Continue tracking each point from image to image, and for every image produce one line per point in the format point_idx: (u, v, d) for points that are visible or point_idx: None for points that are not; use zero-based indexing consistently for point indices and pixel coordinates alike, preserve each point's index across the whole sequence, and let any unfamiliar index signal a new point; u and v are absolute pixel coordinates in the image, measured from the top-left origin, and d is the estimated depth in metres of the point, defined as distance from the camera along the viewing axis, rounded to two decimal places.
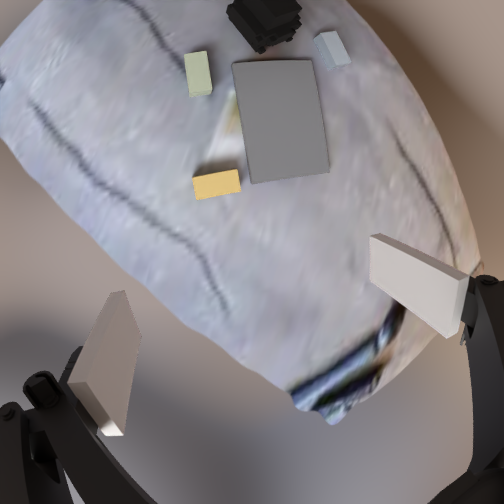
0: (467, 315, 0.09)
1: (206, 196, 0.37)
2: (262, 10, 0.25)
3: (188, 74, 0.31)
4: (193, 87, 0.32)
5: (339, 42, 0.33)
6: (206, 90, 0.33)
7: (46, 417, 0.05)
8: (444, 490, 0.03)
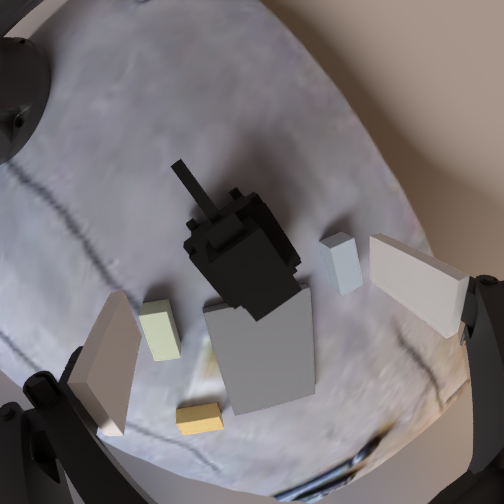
0: (467, 315, 0.09)
1: (192, 433, 0.33)
2: None
3: (149, 341, 0.28)
4: (158, 356, 0.28)
5: (354, 257, 0.29)
6: None
7: (46, 417, 0.05)
8: (444, 490, 0.03)
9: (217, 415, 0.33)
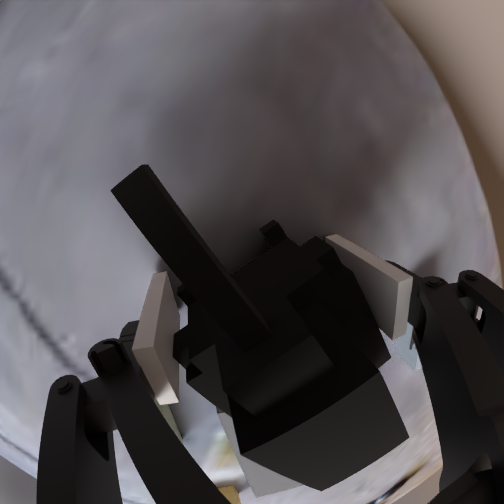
0: (414, 319, 0.10)
1: None
2: None
3: None
4: None
5: None
6: None
7: (108, 383, 0.07)
8: (444, 490, 0.03)
9: (235, 503, 0.20)
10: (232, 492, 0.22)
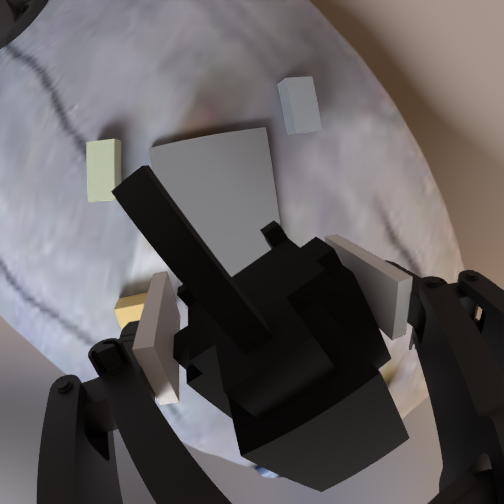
0: (414, 320, 0.10)
1: None
2: None
3: (88, 174, 0.24)
4: (93, 195, 0.24)
5: (312, 95, 0.26)
6: (109, 199, 0.25)
7: (109, 383, 0.07)
8: (444, 490, 0.03)
9: None
10: None
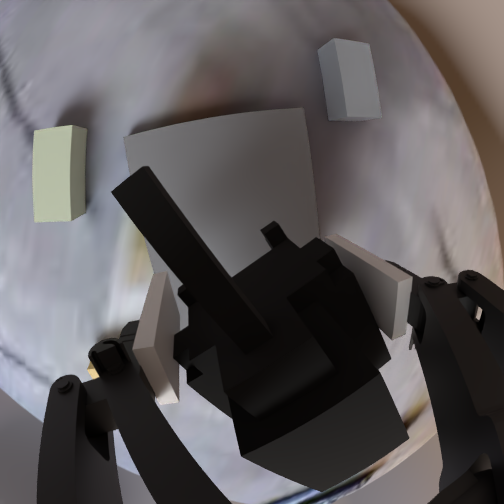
0: (414, 320, 0.10)
1: None
2: None
3: (34, 180, 0.14)
4: (40, 212, 0.14)
5: (369, 68, 0.16)
6: None
7: (109, 383, 0.07)
8: (444, 490, 0.03)
9: None
10: None
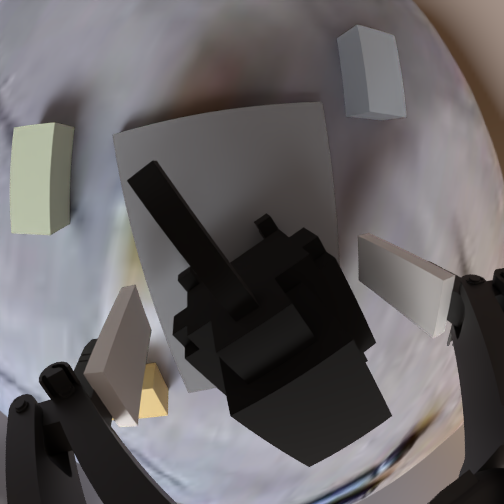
0: (453, 316, 0.09)
1: None
2: None
3: (12, 185, 0.11)
4: (17, 222, 0.12)
5: (394, 61, 0.13)
6: None
7: (61, 408, 0.06)
8: (444, 490, 0.03)
9: (150, 386, 0.17)
10: (151, 371, 0.18)
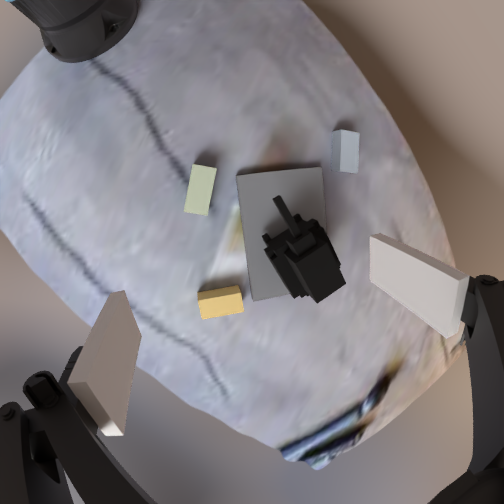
0: (467, 315, 0.09)
1: (211, 316, 0.39)
2: (304, 284, 0.33)
3: (189, 190, 0.34)
4: (189, 207, 0.35)
5: (356, 147, 0.37)
6: None
7: (46, 417, 0.05)
8: (444, 490, 0.03)
9: (239, 292, 0.39)
10: (237, 288, 0.41)
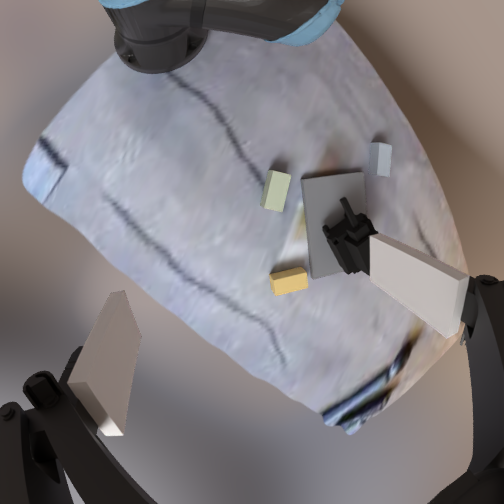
0: (467, 315, 0.09)
1: (283, 293, 0.49)
2: (360, 262, 0.42)
3: (269, 191, 0.43)
4: (268, 204, 0.44)
5: (389, 156, 0.45)
6: (277, 210, 0.45)
7: (46, 417, 0.05)
8: (444, 490, 0.03)
9: (305, 271, 0.49)
10: (301, 268, 0.50)
